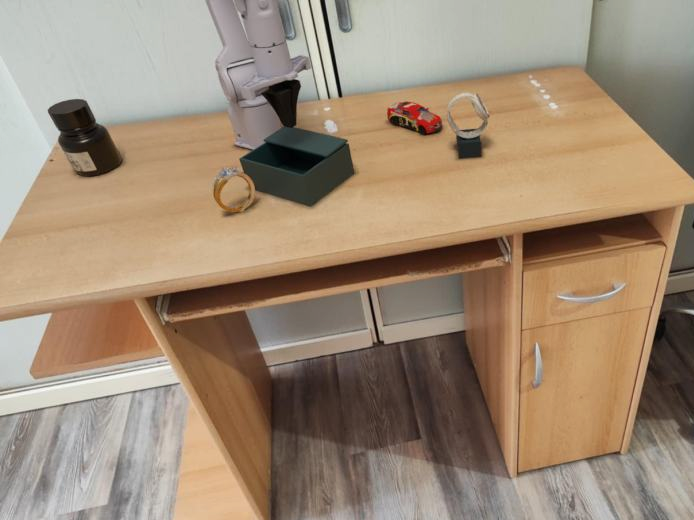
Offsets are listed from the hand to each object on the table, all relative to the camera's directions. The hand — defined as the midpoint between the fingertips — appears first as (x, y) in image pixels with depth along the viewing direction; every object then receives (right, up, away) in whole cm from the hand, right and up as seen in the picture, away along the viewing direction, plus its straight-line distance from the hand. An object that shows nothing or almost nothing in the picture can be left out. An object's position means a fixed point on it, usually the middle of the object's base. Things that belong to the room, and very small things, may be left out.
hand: (289, 125), depth 101 cm
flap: (+2, -1, +5) cm, 5 cm away
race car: (+20, +8, +21) cm, 31 cm away
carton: (0, -8, +7) cm, 10 cm away
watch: (+32, 0, +12) cm, 34 cm away
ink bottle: (-43, -3, +15) cm, 45 cm away
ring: (-9, -15, +1) cm, 17 cm away
